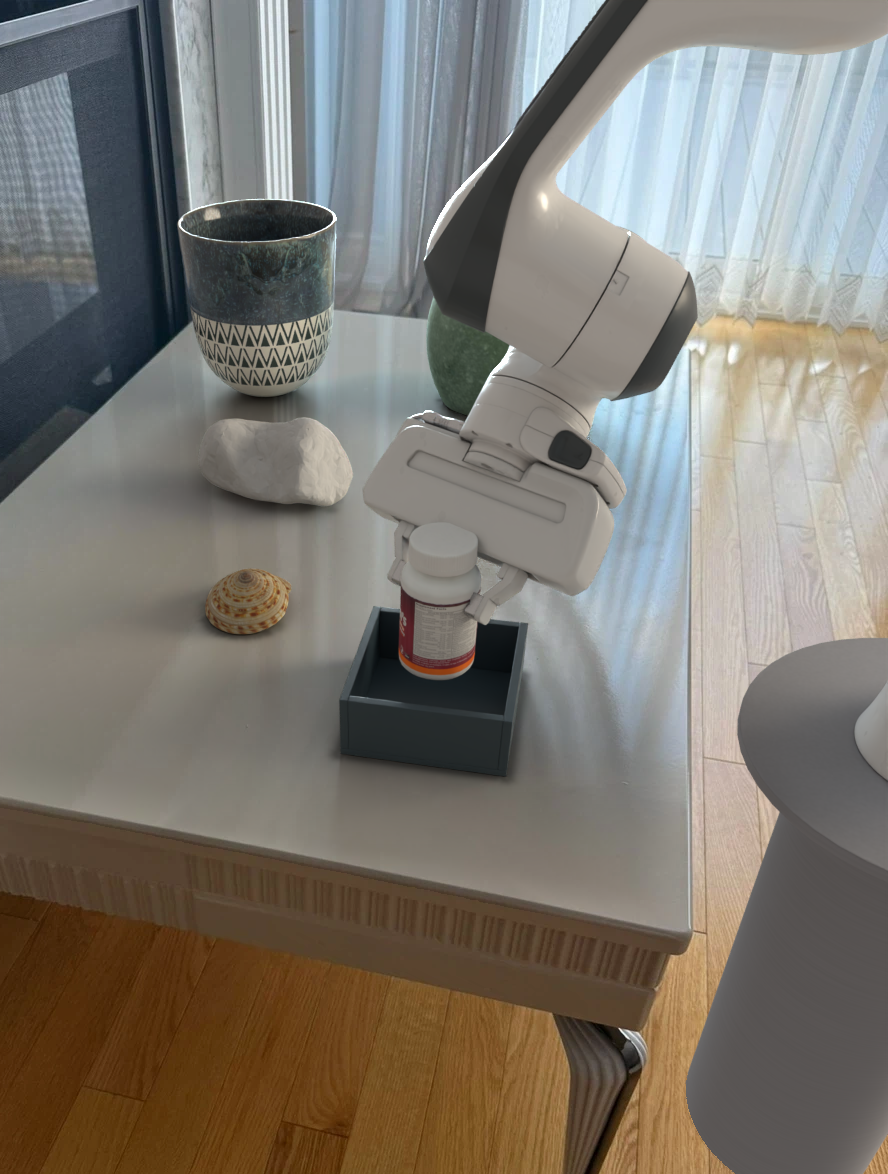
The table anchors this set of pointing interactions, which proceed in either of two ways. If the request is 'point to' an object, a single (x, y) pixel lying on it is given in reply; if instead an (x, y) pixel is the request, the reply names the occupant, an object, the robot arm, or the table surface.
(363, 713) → the bin
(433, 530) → the pill bottle
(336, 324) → the table surface
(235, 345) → the planter
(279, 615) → the seashell
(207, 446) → the decorative stone
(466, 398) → the sculpture
